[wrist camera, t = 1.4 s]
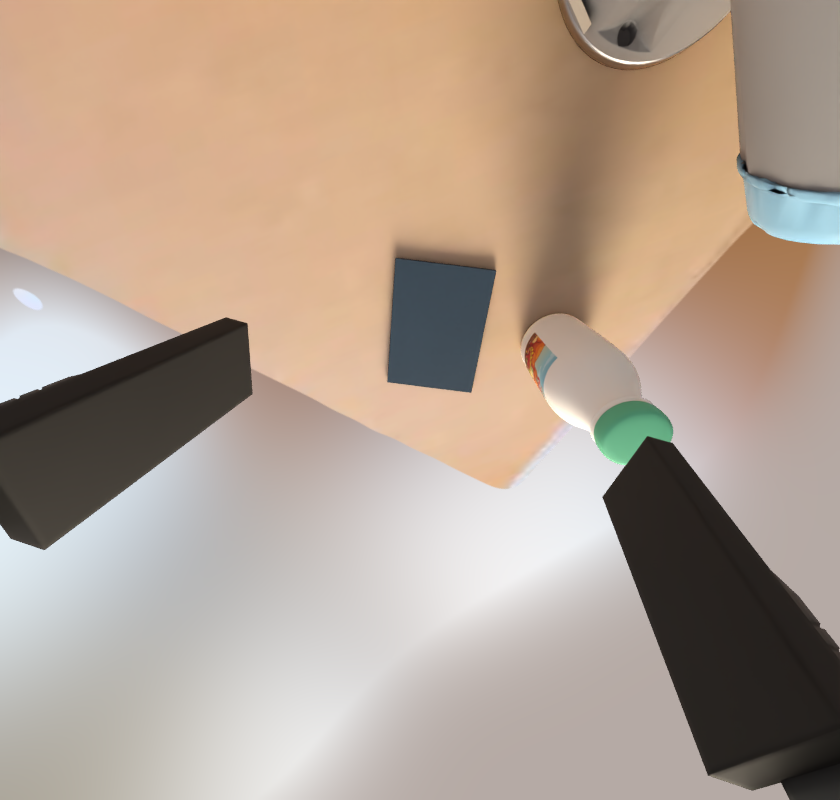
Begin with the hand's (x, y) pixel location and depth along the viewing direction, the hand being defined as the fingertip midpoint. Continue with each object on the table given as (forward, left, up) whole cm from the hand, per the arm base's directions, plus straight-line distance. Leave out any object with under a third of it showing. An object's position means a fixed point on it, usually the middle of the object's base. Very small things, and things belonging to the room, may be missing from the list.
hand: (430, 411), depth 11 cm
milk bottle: (-8, +13, -30) cm, 34 cm away
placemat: (+3, +5, -30) cm, 30 cm away
